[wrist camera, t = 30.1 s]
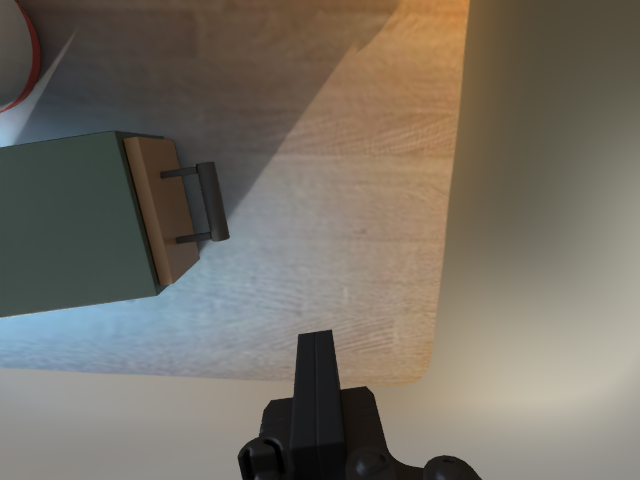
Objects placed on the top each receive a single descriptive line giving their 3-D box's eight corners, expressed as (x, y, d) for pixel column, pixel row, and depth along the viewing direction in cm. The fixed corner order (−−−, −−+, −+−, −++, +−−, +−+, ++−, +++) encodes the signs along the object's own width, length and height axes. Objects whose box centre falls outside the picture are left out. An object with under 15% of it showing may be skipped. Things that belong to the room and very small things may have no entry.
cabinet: (163, 136, 38) (114, 130, 28) (193, 263, 41) (157, 296, 31) (3, 160, 38) (-98, 161, 28) (45, 284, 41) (-35, 323, 32)
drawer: (221, 133, 37) (197, 127, 29) (244, 252, 40) (228, 275, 32) (21, 163, 37) (-55, 165, 29) (58, 279, 40) (-2, 308, 32)
